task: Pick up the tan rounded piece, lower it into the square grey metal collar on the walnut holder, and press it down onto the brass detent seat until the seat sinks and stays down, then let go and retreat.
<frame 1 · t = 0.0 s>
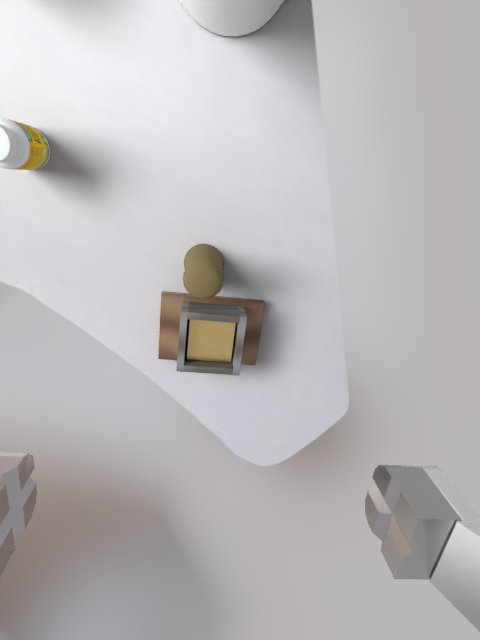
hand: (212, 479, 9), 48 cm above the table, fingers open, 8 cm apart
holder: (210, 327, 59), on the table
spring seat: (210, 339, 55), point 4 cm above the table, slide at 0.0 cm
tan rounded piece: (203, 263, 55), on the table
supplement bottle: (31, 148, 48), on the table
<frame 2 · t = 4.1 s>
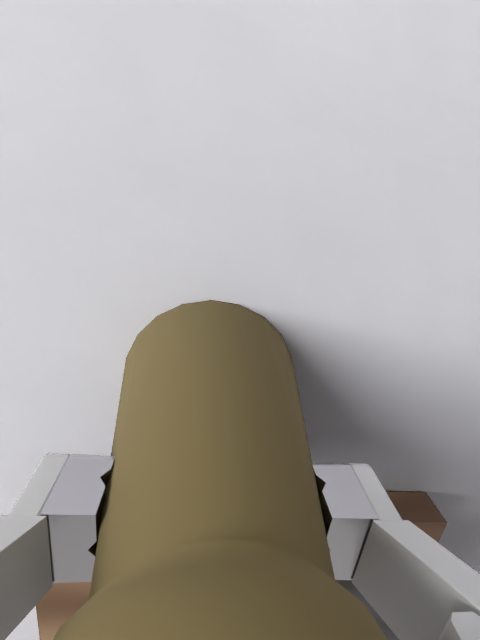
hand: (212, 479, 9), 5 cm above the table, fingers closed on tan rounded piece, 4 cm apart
holder: (232, 578, 17), on the table
tan rounded piece: (210, 377, 13), on the table, touching gripper
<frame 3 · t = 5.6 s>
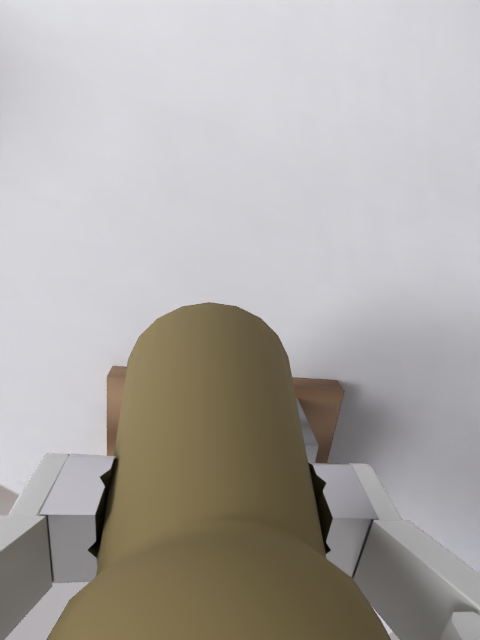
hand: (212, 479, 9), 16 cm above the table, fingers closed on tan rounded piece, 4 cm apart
holder: (221, 438, 27), on the table
tan rounded piece: (209, 377, 13), point 11 cm above the table, touching gripper
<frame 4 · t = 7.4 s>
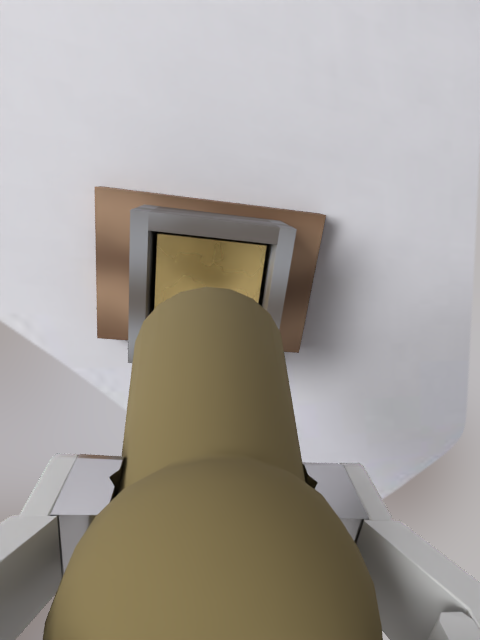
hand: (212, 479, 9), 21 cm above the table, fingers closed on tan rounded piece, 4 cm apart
holder: (207, 273, 28), on the table
spring seat: (208, 290, 24), point 5 cm above the table, slide at 0.0 cm
tan rounded piece: (210, 356, 15), point 14 cm above the table, touching gripper
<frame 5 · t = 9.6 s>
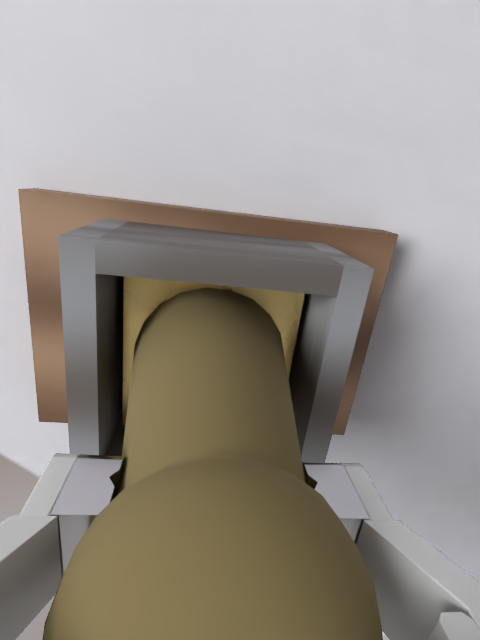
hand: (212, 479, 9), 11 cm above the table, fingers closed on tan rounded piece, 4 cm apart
holder: (208, 321, 18), on the table
spring seat: (209, 353, 15), point 4 cm above the table, slide at 0.8 cm, touching tan rounded piece
tan rounded piece: (210, 357, 15), point 4 cm above the table, touching gripper, spring seat
when the fingers open (9 cm above the table, at t = 10.5 s): tan rounded piece stays where it is, resting on spring seat.
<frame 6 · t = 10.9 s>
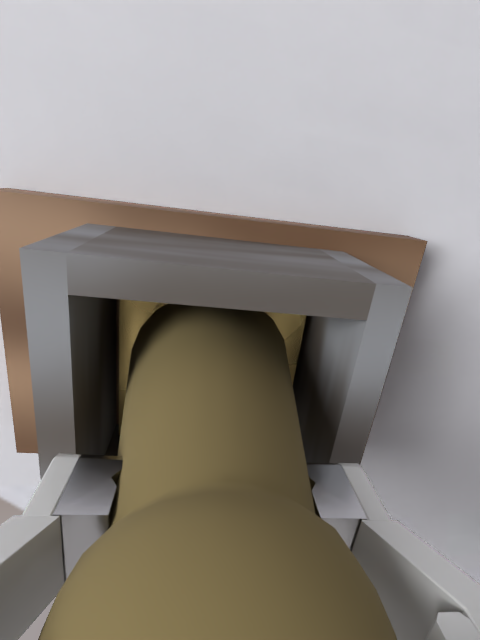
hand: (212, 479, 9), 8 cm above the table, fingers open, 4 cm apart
holder: (209, 338, 16), on the table
spring seat: (209, 360, 14), point 2 cm above the table, slide at 2.4 cm, touching tan rounded piece
tan rounded piece: (210, 364, 14), point 2 cm above the table, touching gripper, spring seat
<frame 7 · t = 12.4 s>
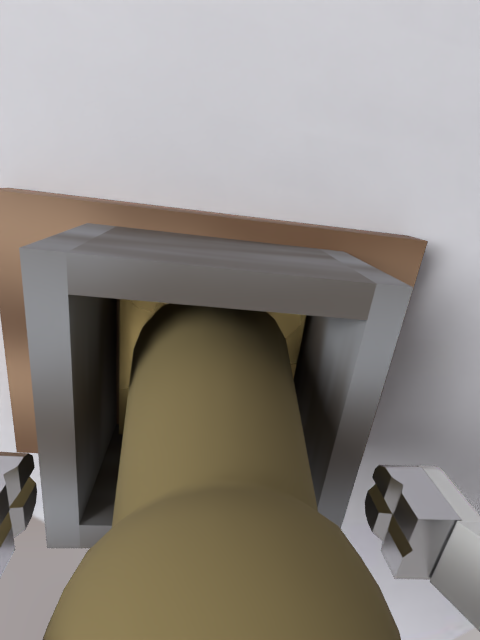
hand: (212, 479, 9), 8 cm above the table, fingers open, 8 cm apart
holder: (209, 338, 16), on the table
spring seat: (209, 359, 14), point 2 cm above the table, slide at 2.4 cm, touching tan rounded piece
tan rounded piece: (212, 363, 14), point 2 cm above the table, touching spring seat
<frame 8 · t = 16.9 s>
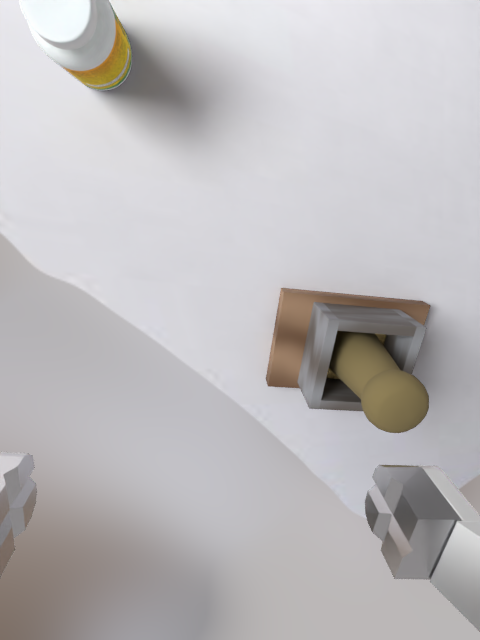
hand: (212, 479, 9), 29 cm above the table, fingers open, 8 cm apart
holder: (342, 341, 41), on the table
spring seat: (349, 349, 39), point 2 cm above the table, slide at 2.4 cm, touching tan rounded piece
tan rounded piece: (351, 350, 38), point 2 cm above the table, touching spring seat
supplement bottle: (100, 55, 29), on the table
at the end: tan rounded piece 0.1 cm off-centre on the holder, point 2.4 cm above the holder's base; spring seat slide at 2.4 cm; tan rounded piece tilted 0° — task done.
